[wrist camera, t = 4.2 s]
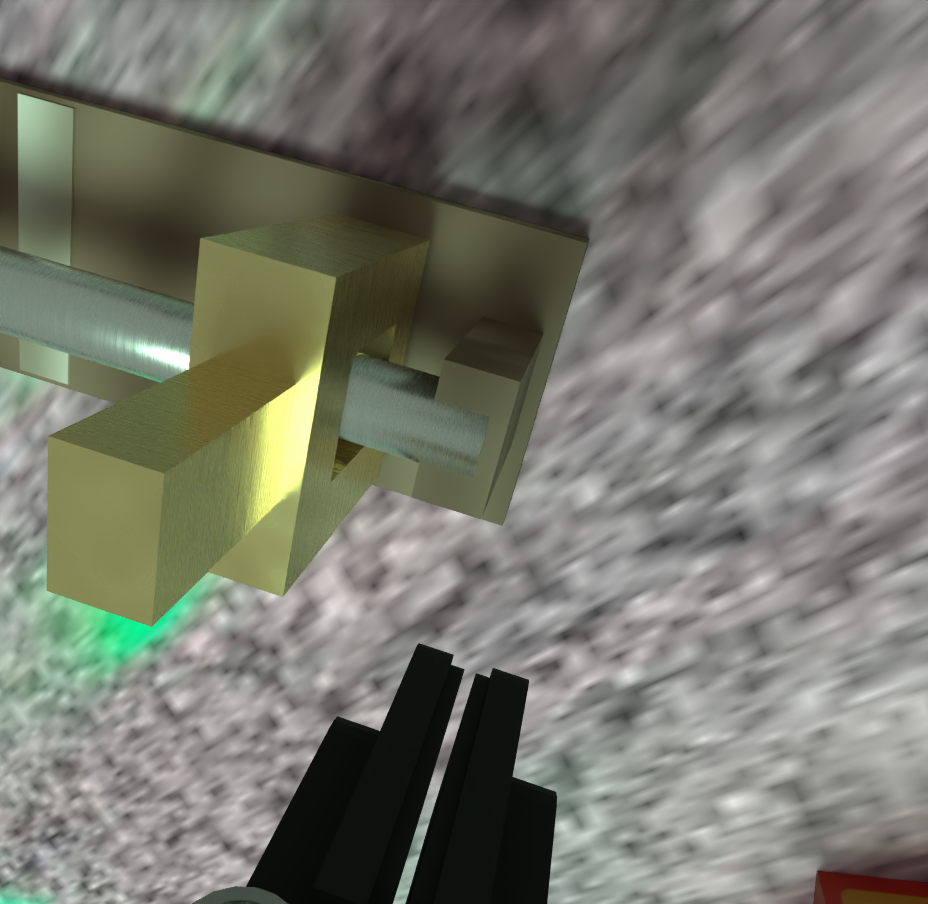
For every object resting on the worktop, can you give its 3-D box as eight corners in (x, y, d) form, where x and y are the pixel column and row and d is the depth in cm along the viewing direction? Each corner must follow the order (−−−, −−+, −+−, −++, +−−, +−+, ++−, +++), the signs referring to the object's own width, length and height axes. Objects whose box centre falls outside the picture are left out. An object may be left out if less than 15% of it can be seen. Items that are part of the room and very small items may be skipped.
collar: (429, 239, 22) (209, 328, 10) (379, 474, 25) (167, 743, 14) (335, 213, 22) (18, 271, 11) (297, 448, 26) (22, 690, 14)
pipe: (507, 375, 21) (491, 405, 18) (483, 463, 22) (464, 504, 19) (-236, 155, 23) (-344, 154, 20) (-223, 245, 24) (-325, 255, 21)
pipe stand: (589, 239, 23) (575, 267, 17) (507, 511, 27) (472, 614, 21) (-135, 40, 26) (-377, 1, 20) (-113, 316, 30) (-307, 357, 24)
